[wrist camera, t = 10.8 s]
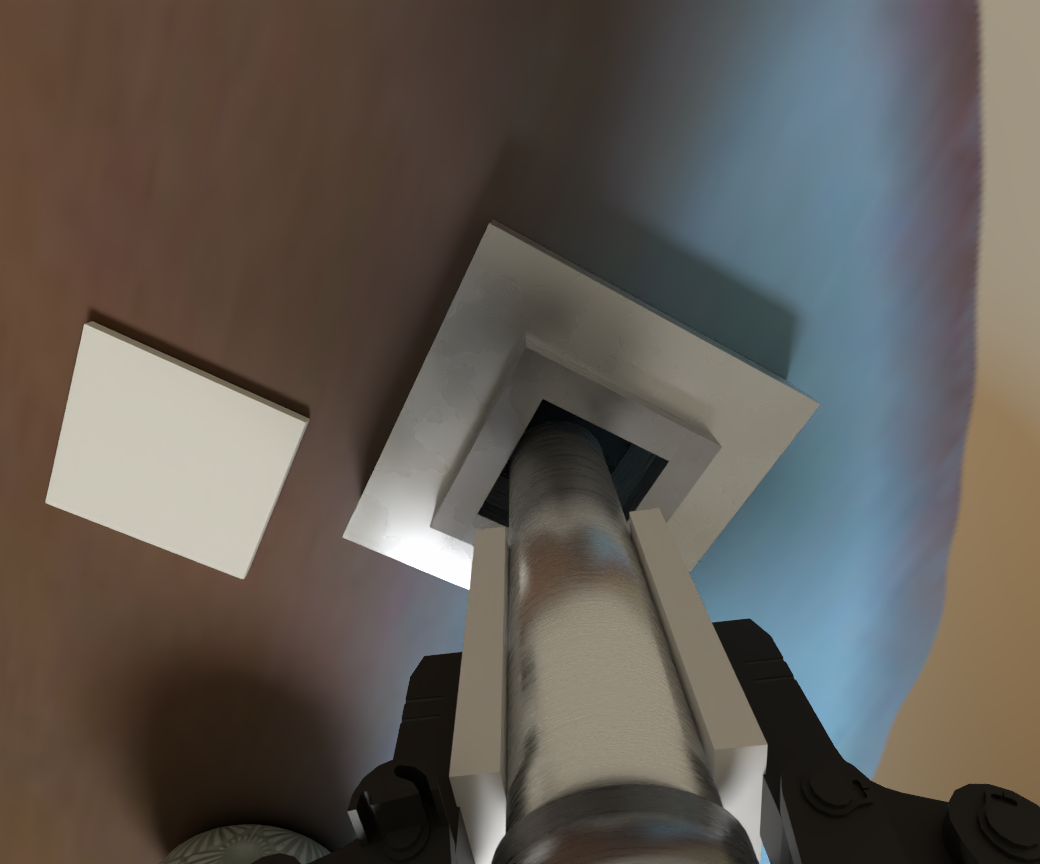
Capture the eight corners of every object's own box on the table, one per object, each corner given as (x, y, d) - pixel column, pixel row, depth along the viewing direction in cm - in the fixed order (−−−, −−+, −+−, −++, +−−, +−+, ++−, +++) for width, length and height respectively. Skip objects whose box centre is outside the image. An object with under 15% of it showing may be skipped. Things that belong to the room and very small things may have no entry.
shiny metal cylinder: (534, 525, 20) (573, 1114, 7) (484, 445, 19) (424, 988, 6) (626, 482, 20) (844, 1046, 7) (580, 396, 18) (742, 889, 5)
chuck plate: (360, 502, 23) (334, 553, 20) (493, 219, 19) (487, 225, 15) (616, 611, 25) (630, 674, 22) (787, 380, 21) (836, 415, 17)
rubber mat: (53, 497, 23) (45, 503, 22) (92, 321, 20) (84, 323, 20) (247, 573, 24) (243, 579, 24) (309, 418, 21) (306, 422, 21)
